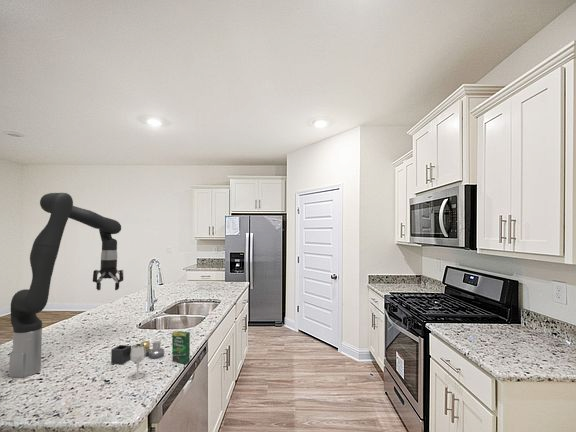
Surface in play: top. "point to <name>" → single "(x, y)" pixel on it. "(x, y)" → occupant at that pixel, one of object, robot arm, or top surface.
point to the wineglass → (137, 357)
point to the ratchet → (155, 351)
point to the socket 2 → (146, 344)
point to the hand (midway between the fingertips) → (107, 290)
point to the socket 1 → (120, 354)
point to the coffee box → (181, 347)
